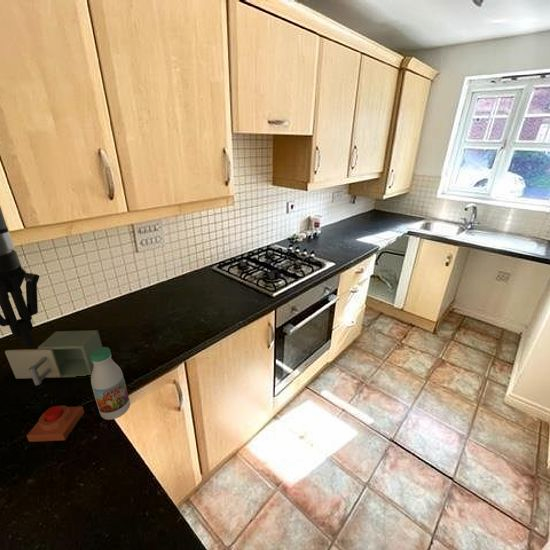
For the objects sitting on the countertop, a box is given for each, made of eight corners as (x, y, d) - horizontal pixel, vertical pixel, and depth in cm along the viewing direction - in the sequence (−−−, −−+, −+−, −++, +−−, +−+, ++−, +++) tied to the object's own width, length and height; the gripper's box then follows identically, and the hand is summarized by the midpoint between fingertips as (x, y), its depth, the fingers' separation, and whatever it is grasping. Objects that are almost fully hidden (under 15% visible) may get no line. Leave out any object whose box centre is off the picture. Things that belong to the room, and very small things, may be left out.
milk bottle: (94, 416, 84) (75, 356, 76) (116, 396, 90) (101, 340, 83) (114, 424, 81) (97, 363, 73) (136, 403, 88) (122, 346, 80)
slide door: (-1, 393, 91) (-13, 364, 87) (17, 377, 97) (6, 350, 93) (47, 391, 91) (36, 363, 87) (61, 375, 98) (52, 348, 94)
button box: (28, 441, 76) (23, 430, 75) (51, 413, 85) (47, 402, 83) (65, 440, 77) (60, 428, 75) (84, 412, 85) (80, 401, 83)
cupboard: (48, 378, 98) (37, 347, 94) (65, 360, 106) (55, 331, 102) (92, 376, 99) (83, 345, 94) (105, 359, 107) (97, 330, 102)
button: (42, 422, 77) (40, 417, 77) (51, 411, 81) (49, 406, 80) (57, 421, 78) (55, 416, 77) (65, 410, 81) (63, 405, 80)
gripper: (19, 243, 72) (48, 327, 81) (-55, 259, 61) (-12, 354, 70) (36, 247, 69) (64, 335, 77) (-40, 264, 58) (3, 364, 67)
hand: (28, 344), depth 74 cm, fingers closed
